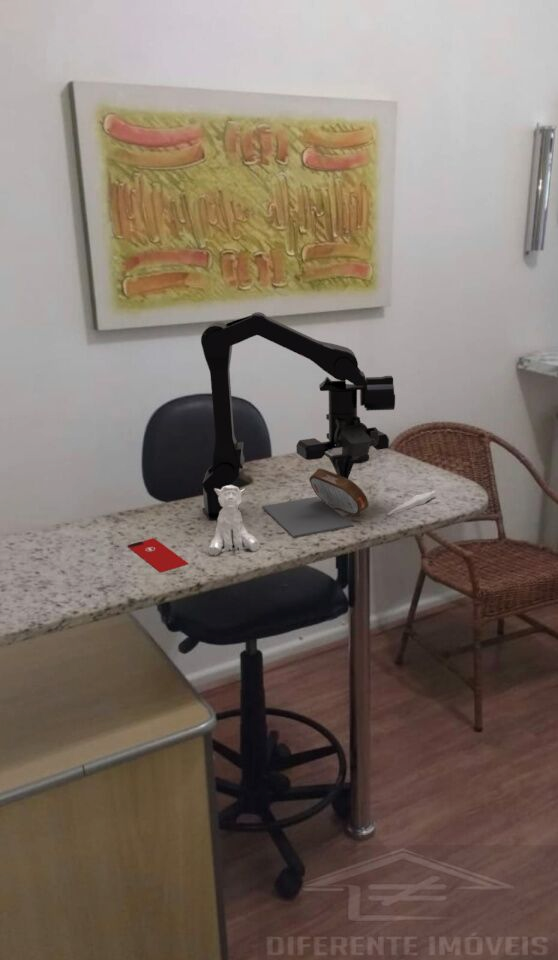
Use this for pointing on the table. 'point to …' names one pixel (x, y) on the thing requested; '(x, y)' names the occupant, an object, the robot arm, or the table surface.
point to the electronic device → (157, 555)
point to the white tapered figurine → (414, 502)
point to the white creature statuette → (231, 524)
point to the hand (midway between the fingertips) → (343, 483)
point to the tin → (338, 492)
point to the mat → (306, 516)
